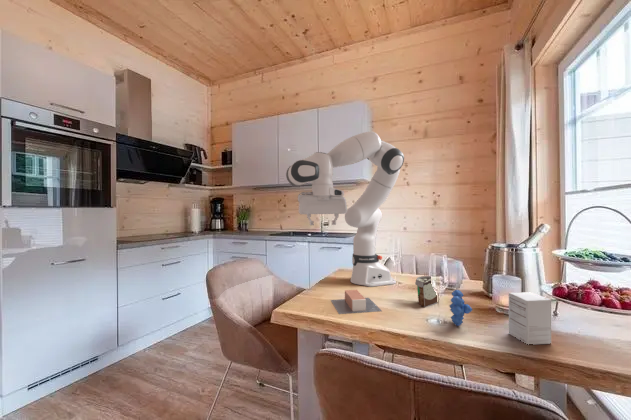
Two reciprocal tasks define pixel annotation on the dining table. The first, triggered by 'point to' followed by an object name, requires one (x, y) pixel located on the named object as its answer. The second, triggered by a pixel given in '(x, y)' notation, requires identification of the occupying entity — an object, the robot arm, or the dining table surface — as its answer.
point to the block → (355, 300)
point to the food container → (425, 291)
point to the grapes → (458, 307)
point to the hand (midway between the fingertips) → (322, 225)
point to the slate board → (345, 309)
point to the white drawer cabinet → (530, 318)
